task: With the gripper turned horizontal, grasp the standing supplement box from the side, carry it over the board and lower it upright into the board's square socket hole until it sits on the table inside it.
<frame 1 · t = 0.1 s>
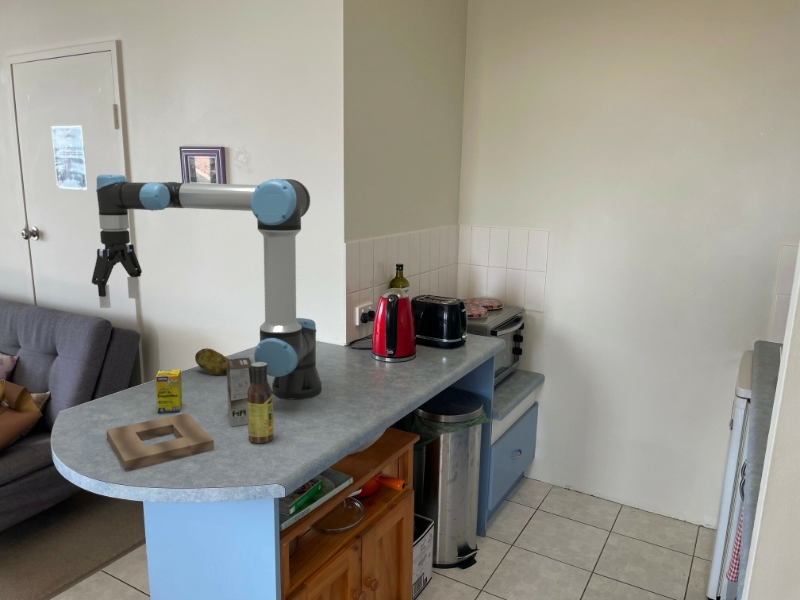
hand: (120, 302, 174), 28 cm above the counter, tool pointing down, fingers open, 13 cm apart
socket board: (159, 444, 147), on the counter
potato: (214, 373, 200), on the counter
sauce bottle: (260, 439, 152), on the counter
supplement box: (170, 409, 169), on the counter
coffee box: (241, 419, 164), on the counter
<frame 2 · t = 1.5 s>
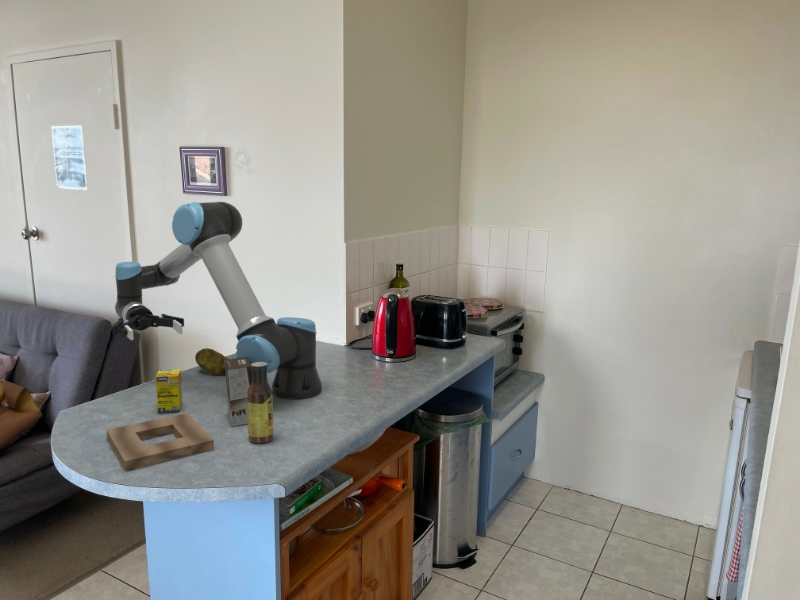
hand: (157, 332, 172), 20 cm above the counter, tool horizontal, fingers open, 13 cm apart
nothing on the counter moved.
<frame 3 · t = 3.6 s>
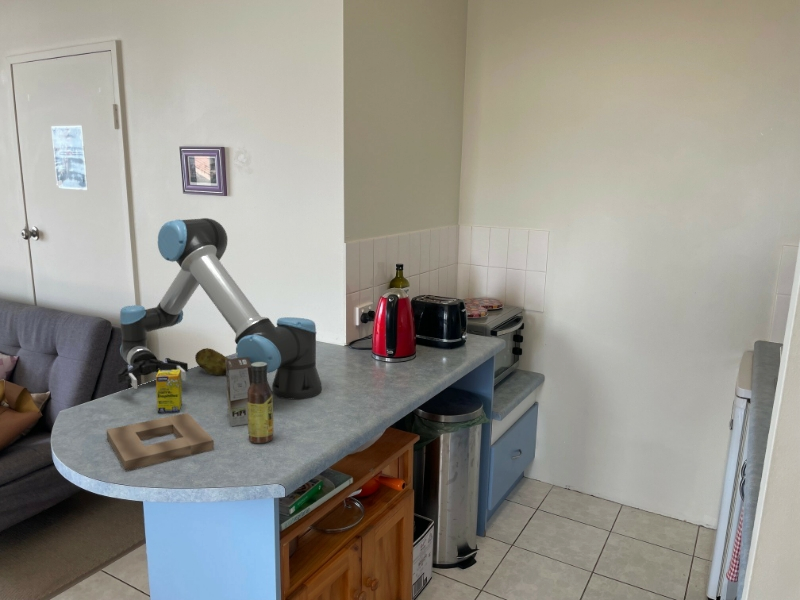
hand: (160, 380, 173), 6 cm above the counter, tool horizontal, fingers open, 13 cm apart
coffee box: (241, 419, 164), on the counter, touching arm
everything else where it was.
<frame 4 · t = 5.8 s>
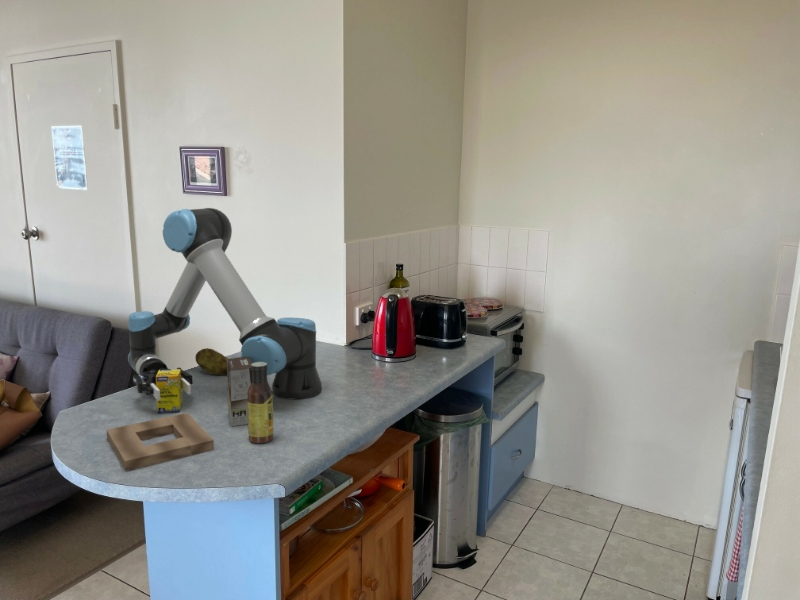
hand: (174, 392, 164), 7 cm above the counter, tool horizontal, fingers closed on supplement box, 8 cm apart
supplement box: (170, 410, 169), on the counter, touching gripper
everything else where it was.
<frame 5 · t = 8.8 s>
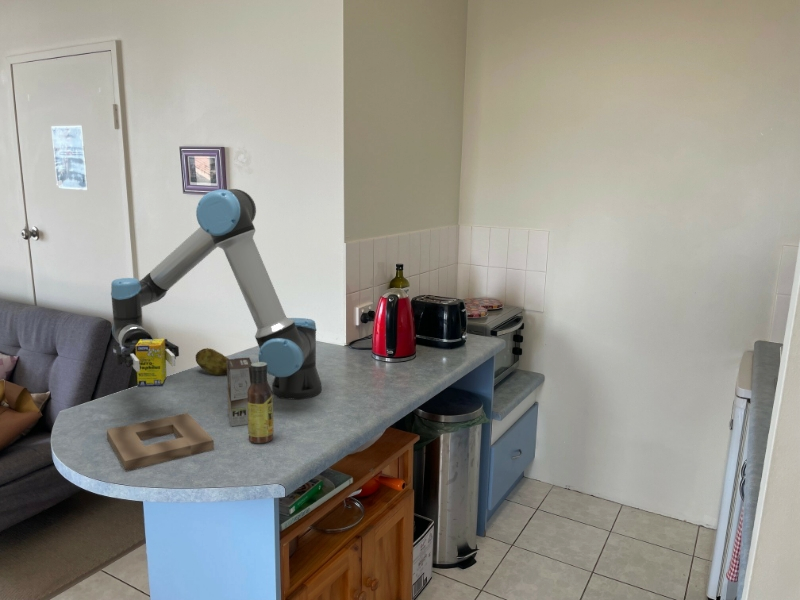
hand: (155, 363, 146), 20 cm above the counter, tool horizontal, fingers closed on supplement box, 8 cm apart
supplement box: (152, 384, 151), point 13 cm above the counter, touching gripper
coffee box: (241, 419, 164), on the counter
everything else where it was.
when the fingers open (8 cm above the counter, at t = 11.5 s): supplement box drops 1 cm, resting in socket board.
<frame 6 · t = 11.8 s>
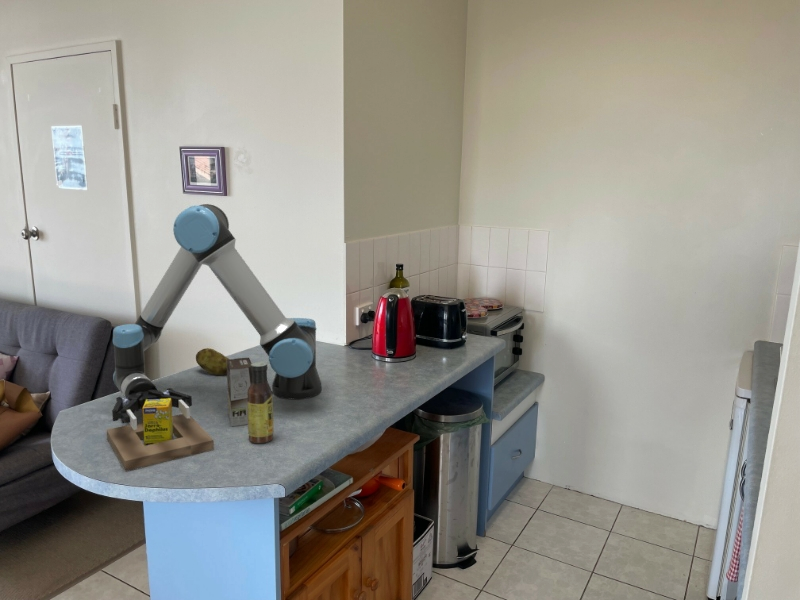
hand: (162, 418, 143), 8 cm above the counter, tool horizontal, fingers open, 11 cm apart
supplement box: (159, 445, 147), resting in socket board
everything else where it was.
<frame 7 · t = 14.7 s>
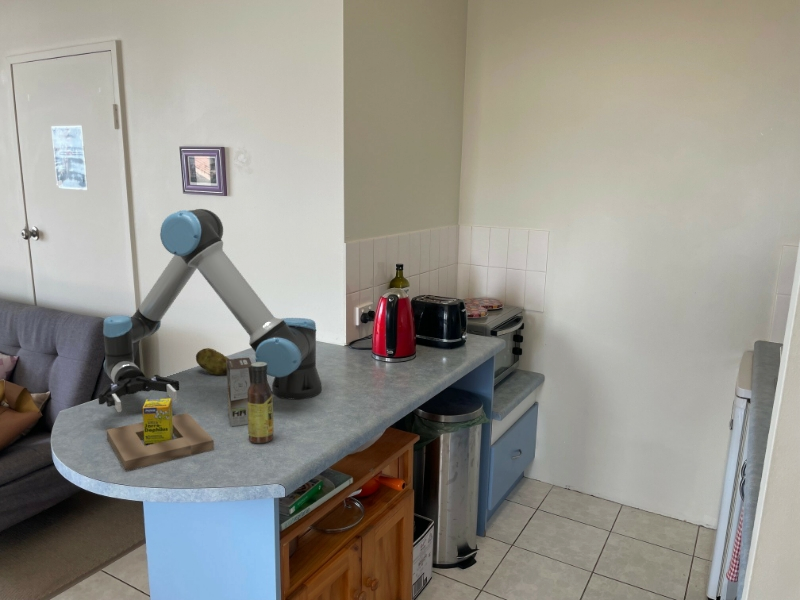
hand: (148, 401, 153), 8 cm above the counter, tool horizontal, fingers open, 13 cm apart
nothing on the counter moved.
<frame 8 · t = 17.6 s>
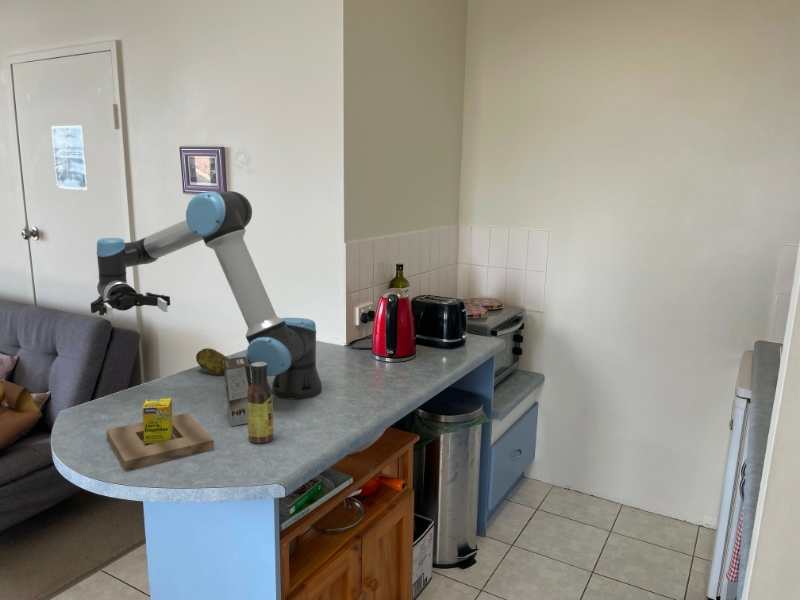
hand: (139, 309, 157), 30 cm above the counter, tool horizontal, fingers open, 13 cm apart
coffee box: (241, 418, 164), on the counter, touching arm
everything else where it was.
at the end: supplement box 0.1 cm off-centre on the socket board, point 0.0 cm above the socket board's base; supplement box tilted 0°; the gripper is holding nothing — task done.
